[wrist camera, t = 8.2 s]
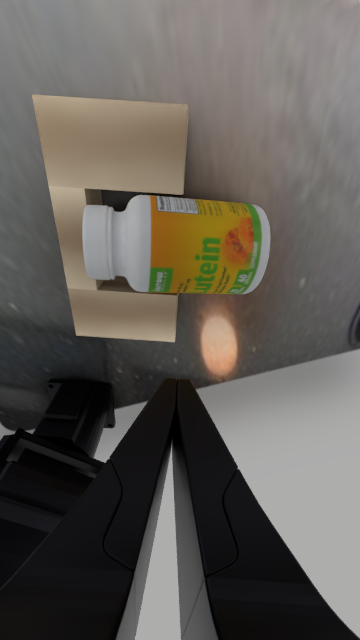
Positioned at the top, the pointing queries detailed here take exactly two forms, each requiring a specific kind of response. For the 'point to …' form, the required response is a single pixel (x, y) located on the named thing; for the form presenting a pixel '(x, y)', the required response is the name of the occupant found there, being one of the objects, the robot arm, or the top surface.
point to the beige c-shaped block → (110, 174)
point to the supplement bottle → (178, 245)
